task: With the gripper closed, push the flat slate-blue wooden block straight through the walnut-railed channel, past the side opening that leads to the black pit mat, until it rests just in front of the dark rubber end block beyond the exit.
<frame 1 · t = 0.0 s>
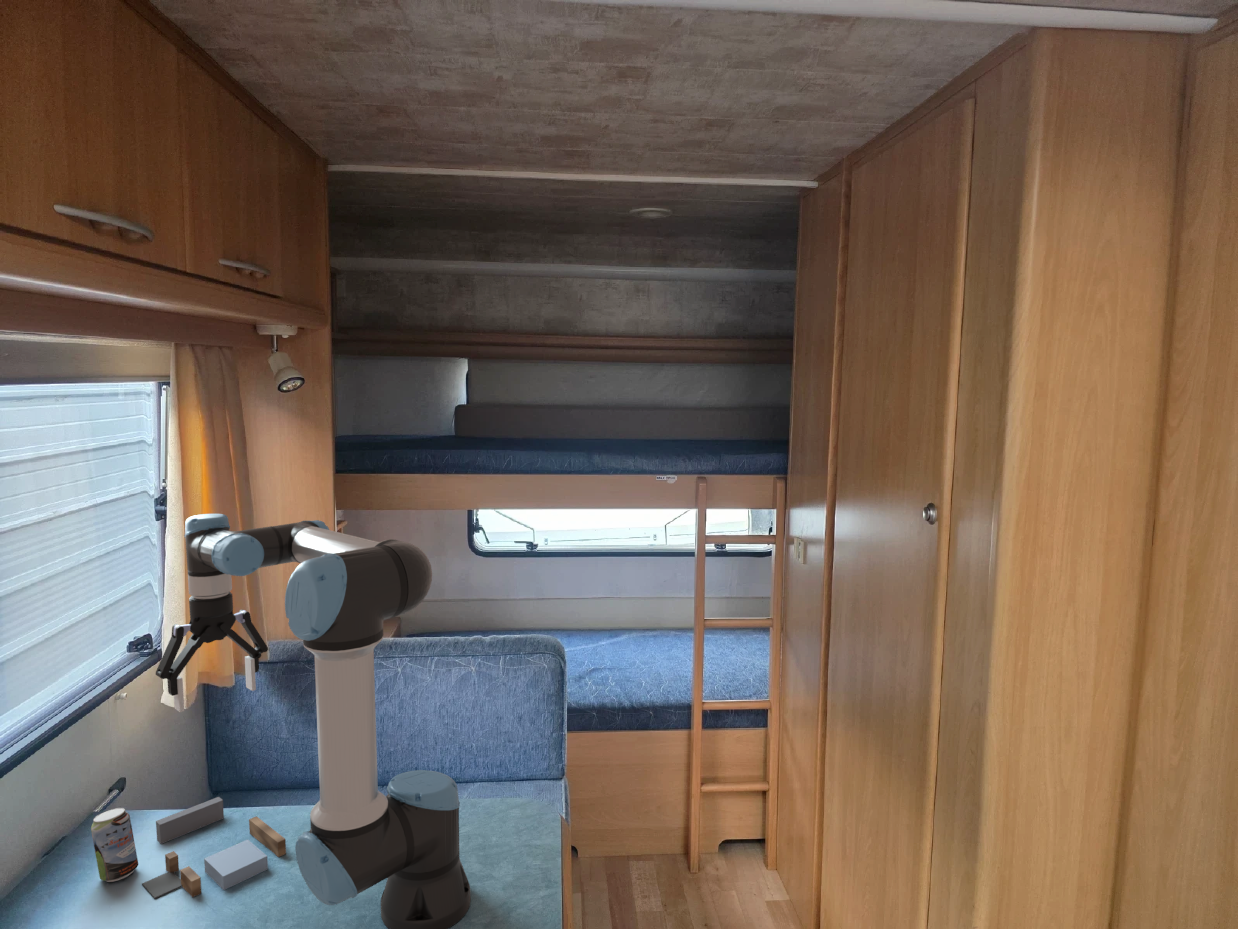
hand: (216, 699, 155), 28 cm above the table, fingers open, 13 cm apart
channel: (227, 861, 149), on the table
block: (236, 872, 146), on the table
end block: (191, 829, 159), on the table
beverage can: (117, 876, 145), on the table
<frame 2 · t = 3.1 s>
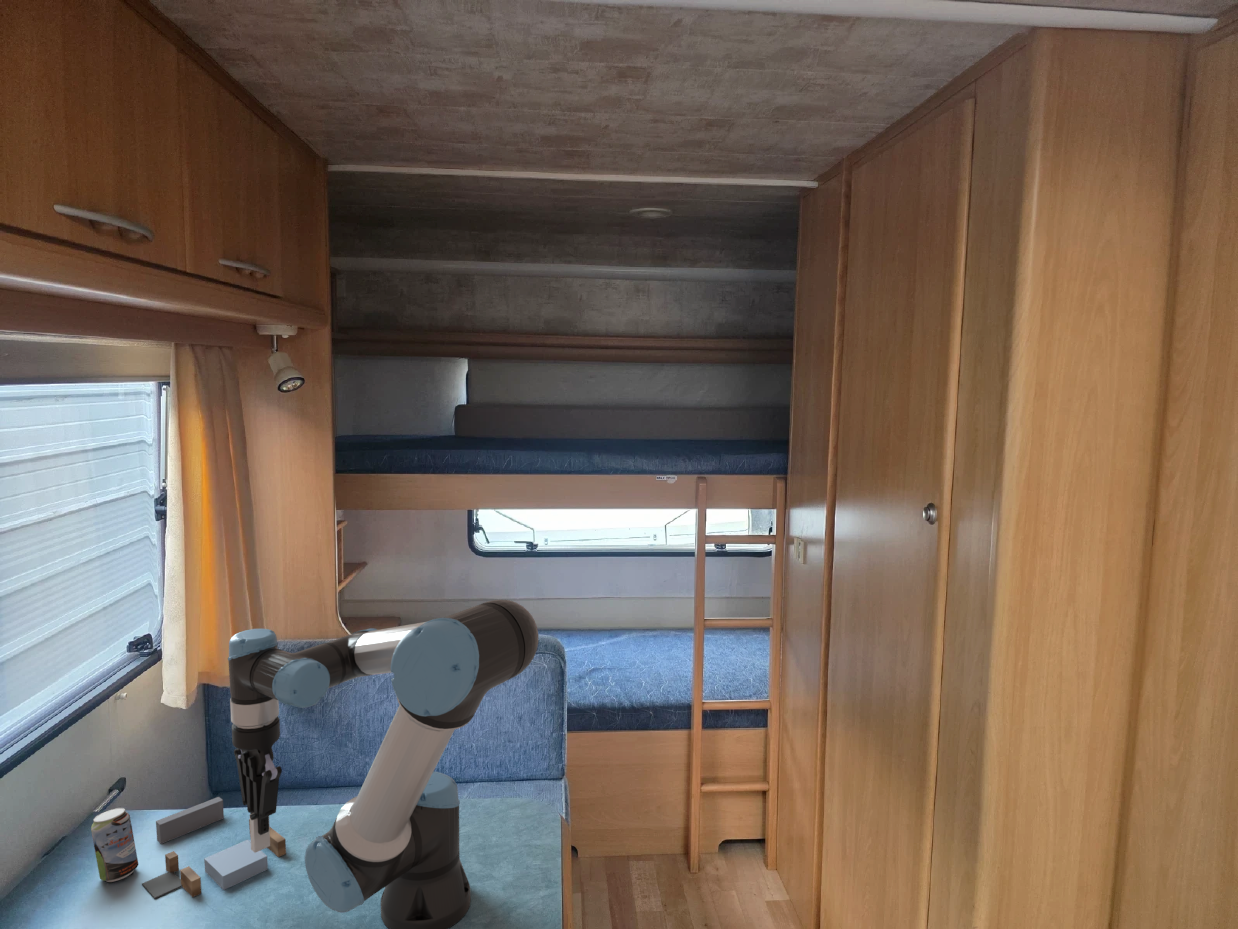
hand: (260, 847, 138), 9 cm above the table, fingers closed
nothing on the table moved.
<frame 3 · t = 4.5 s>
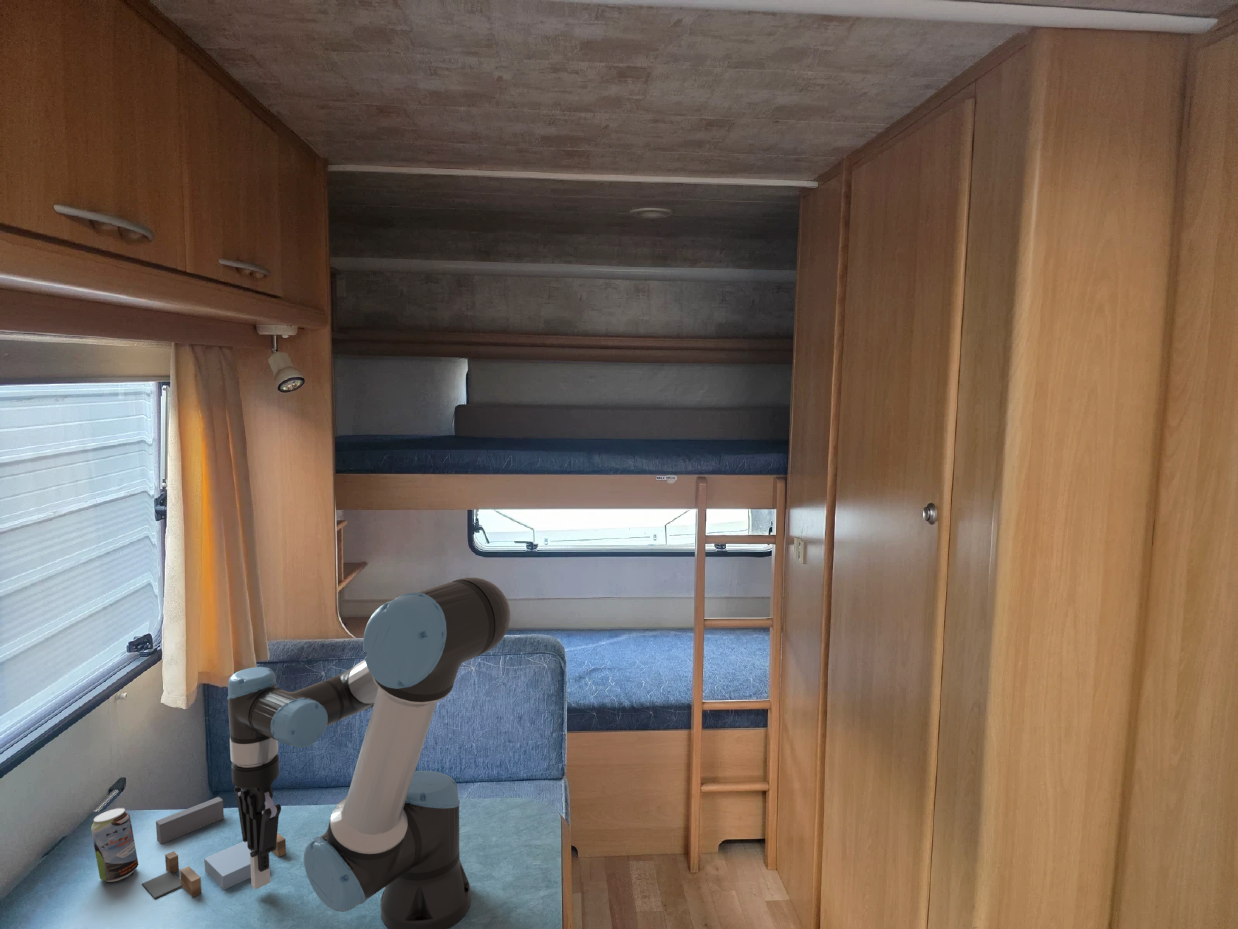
hand: (260, 884, 140), 2 cm above the table, fingers closed
nothing on the table moved.
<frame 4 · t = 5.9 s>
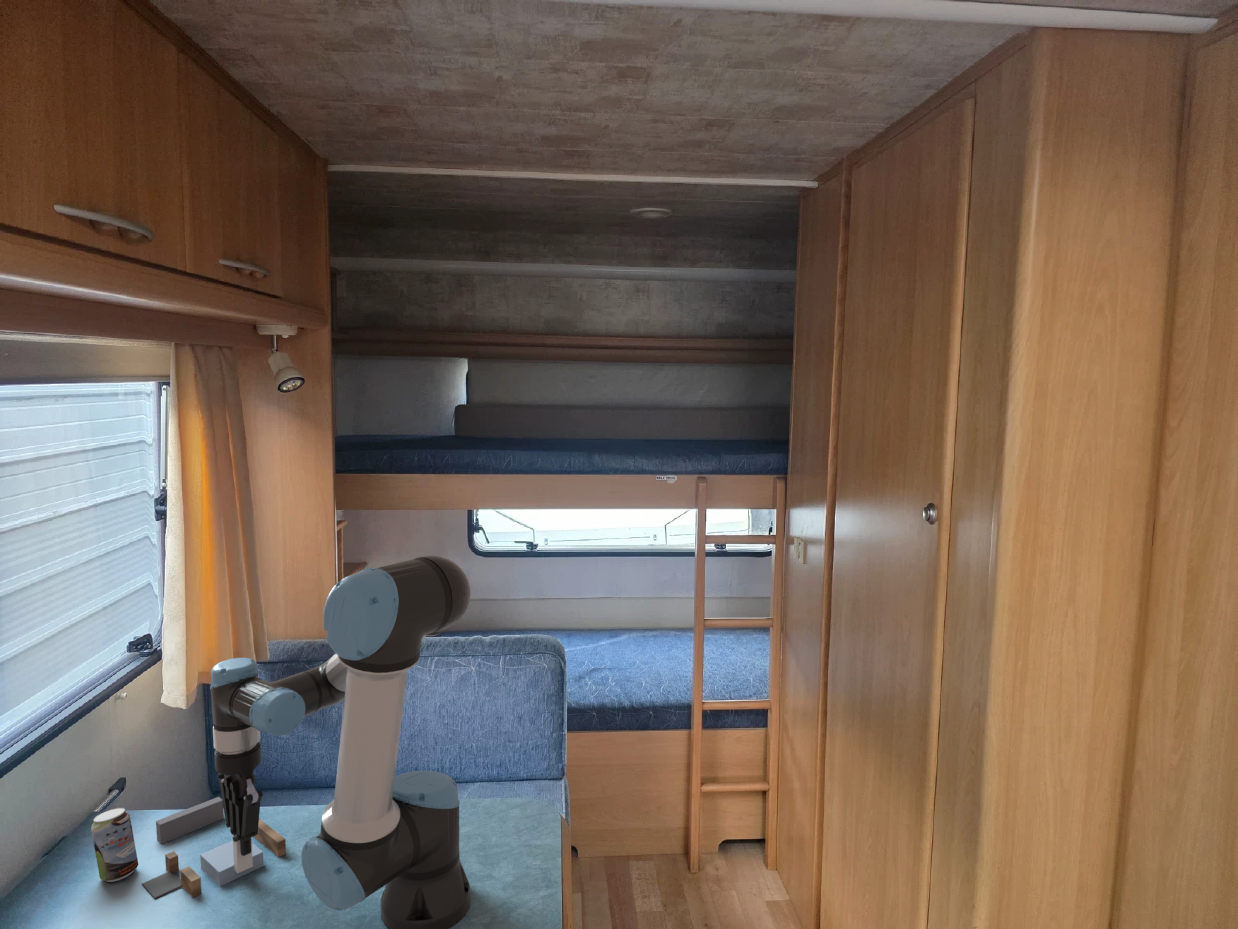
hand: (243, 868, 144), 2 cm above the table, fingers closed
block: (232, 868, 147), on the table
everything else where it was.
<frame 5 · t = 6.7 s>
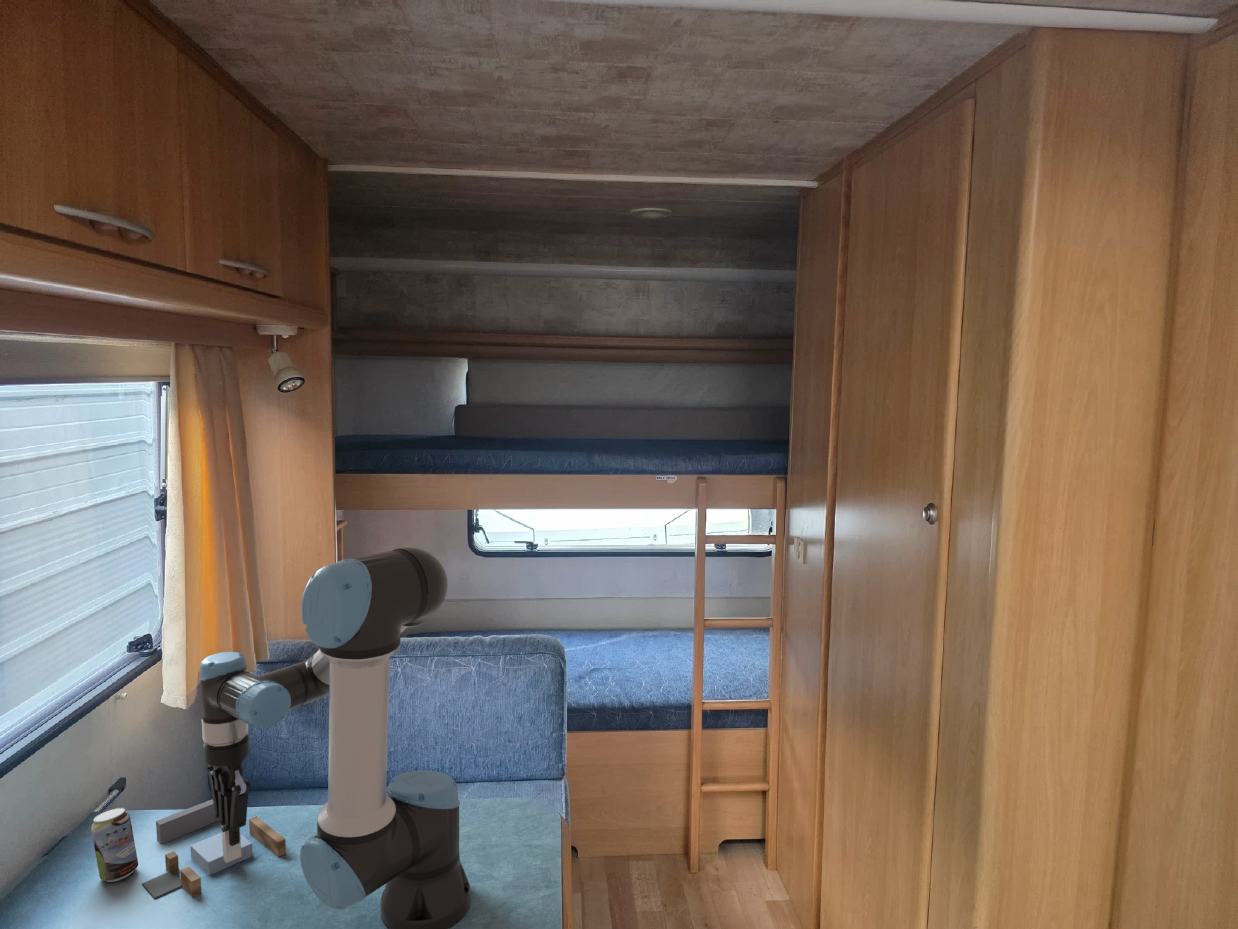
hand: (232, 858, 147), 2 cm above the table, fingers closed
block: (222, 859, 150), on the table, touching gripper
everything else where it was.
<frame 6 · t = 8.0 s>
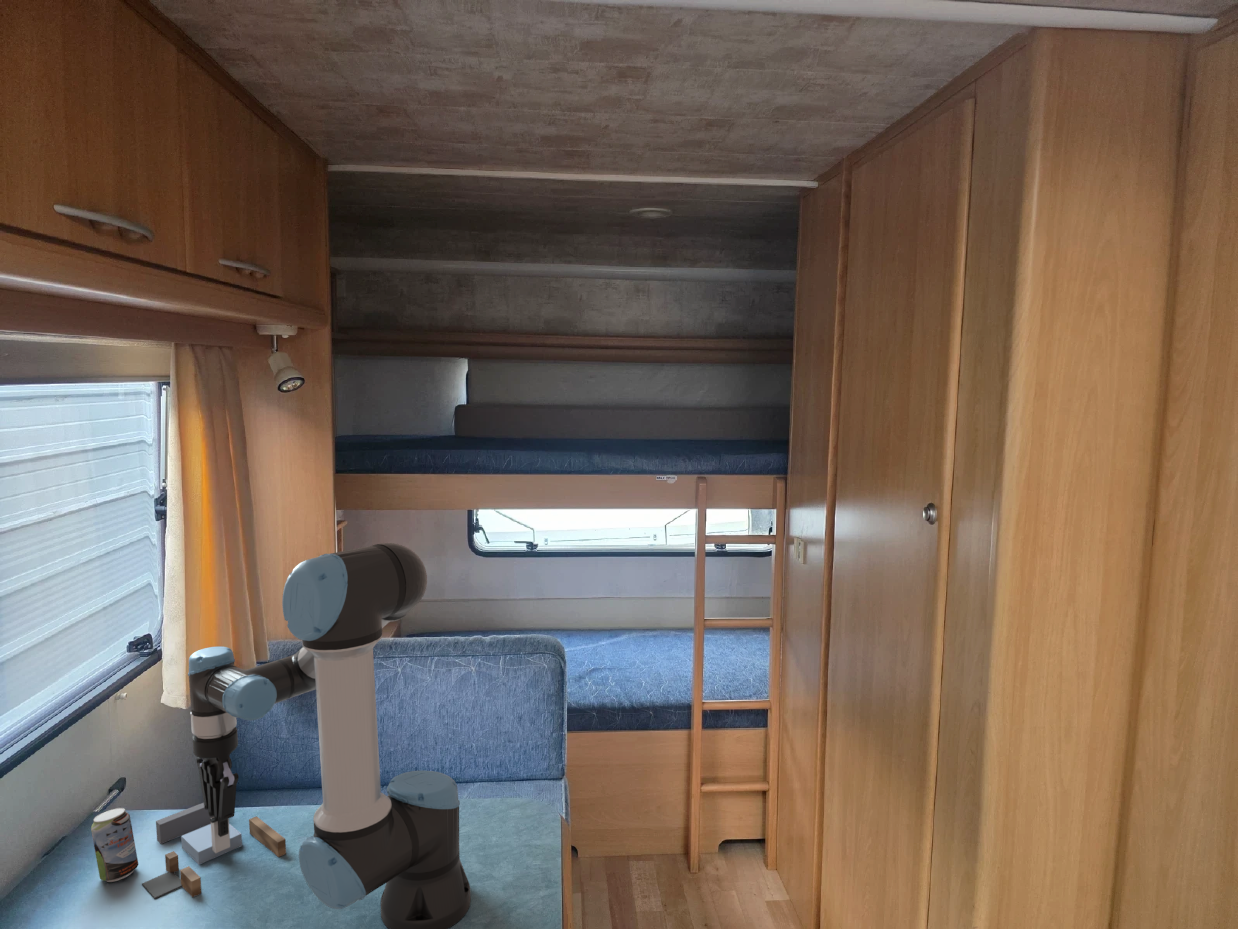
hand: (221, 848, 150), 2 cm above the table, fingers closed
block: (212, 849, 154), on the table
everything else where it was.
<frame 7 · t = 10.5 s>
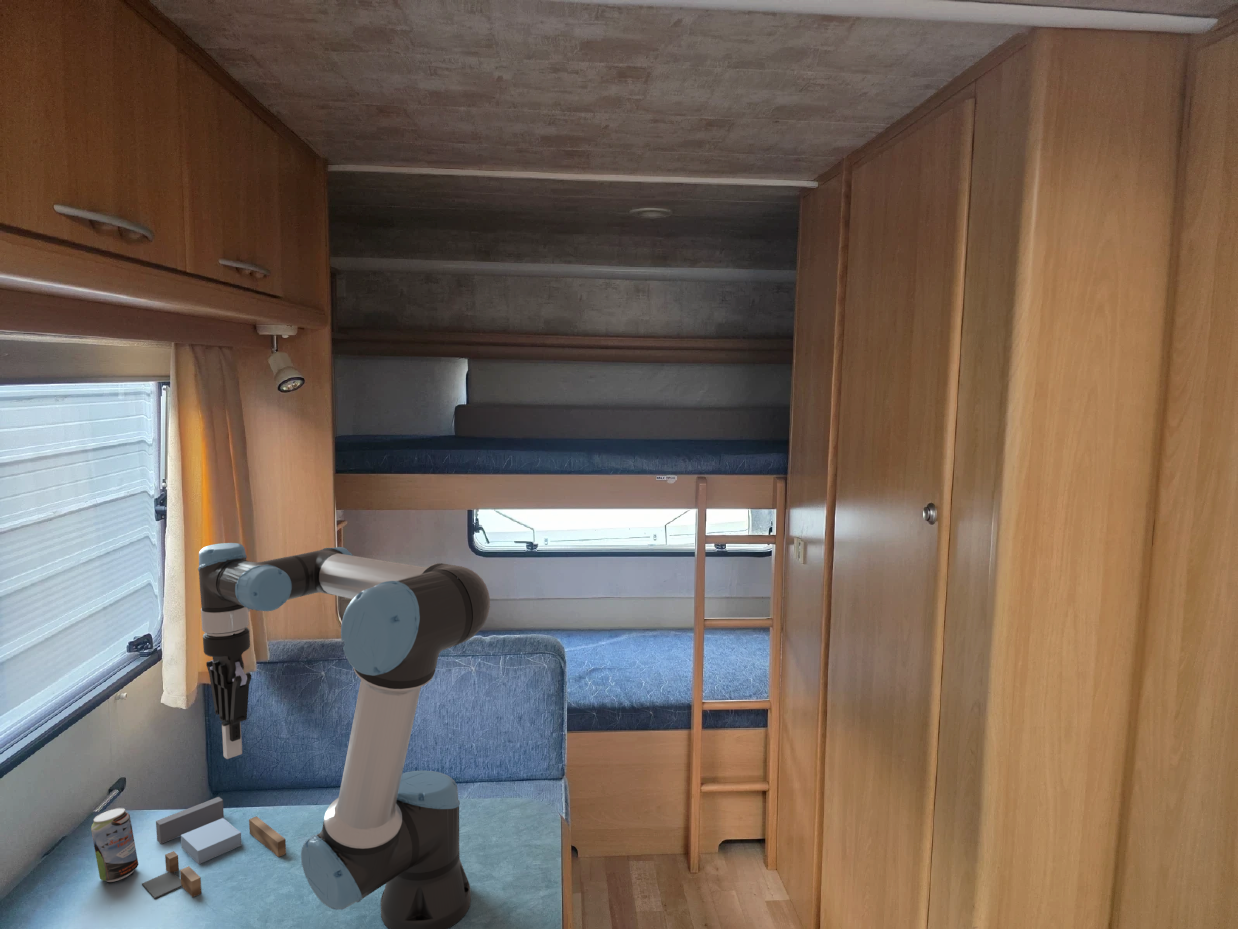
hand: (232, 755, 144), 22 cm above the table, fingers closed
nothing on the table moved.
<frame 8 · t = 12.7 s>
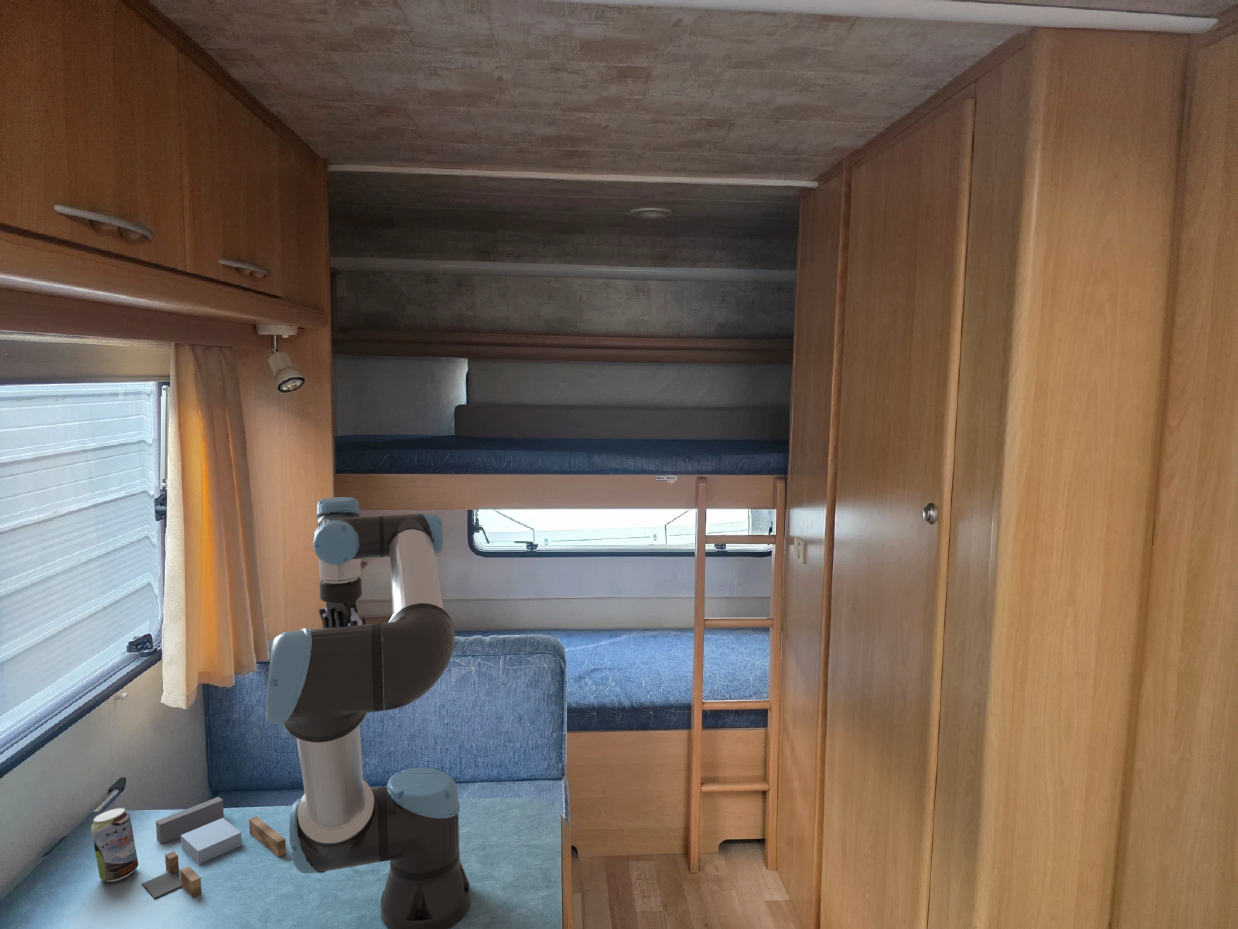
hand: (344, 697, 153), 29 cm above the table, fingers closed
nothing on the table moved.
at the end: block inside the target area (4.2 cm from its centre), on the table; block tilted 0° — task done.
